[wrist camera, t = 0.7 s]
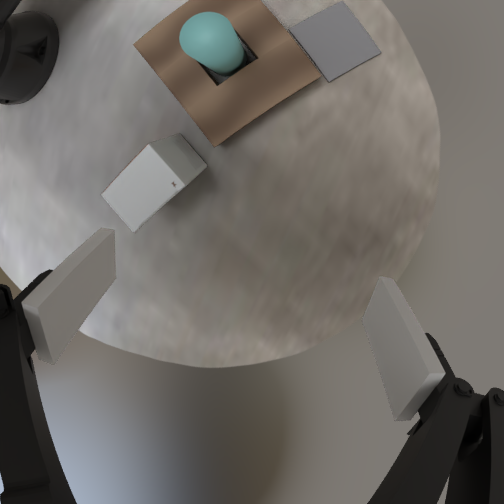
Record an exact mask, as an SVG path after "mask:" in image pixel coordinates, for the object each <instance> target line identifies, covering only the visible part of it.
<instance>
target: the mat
mask: <svg viewBox="0 0 504 504" xmlns="http://www.w3.org/2000/svg"><path fill="white" fill-rule="evenodd" d="M289 31H290V33H291V34H292V35H293V36H294V38H295V39H296V40H297V41H298V43H299V44H300V45H301V46H302V48H303V49H304V50H305V52H306V53H307V54H308V55H309V57H310V58H311V59H312V61H313V62H314V63H315V65H316V66H317V67H318V69H319V70H320V72H321V73H322V74H323V76H324V77H325V79H326V80H327V81H328V82H330V81H331V80H333V79H335V78H336V77H338V76H340V75H342V74H343V73H345V72H347V71H349V70H350V69H352V68H354V67H356V66H357V65H359V64H361V63H363V62H365V61H367V60H368V59H370V58H372V57H374V56H376V55H378V54H380V53H381V51H380V50H379V48H378V47H377V45H376V44H375V42H374V41H373V40H372V38H371V37H370V35H369V34H368V33H367V31H366V30H365V29H364V27H363V26H362V25H361V23H360V22H359V21H358V19H357V18H356V17H355V15H354V14H353V13H352V12H351V10H350V9H349V8H348V7H347V5H346V4H345V3H344V2H343V1H341V2H339V3H337V4H335V5H333V6H331V7H329V8H327V9H325V10H323V11H321V12H319V13H317V14H315V15H313V16H311V17H309V18H307V19H306V20H304V21H302V22H300V23H298V24H297V25H295V26H293V27H291V28H289Z"/></svg>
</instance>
